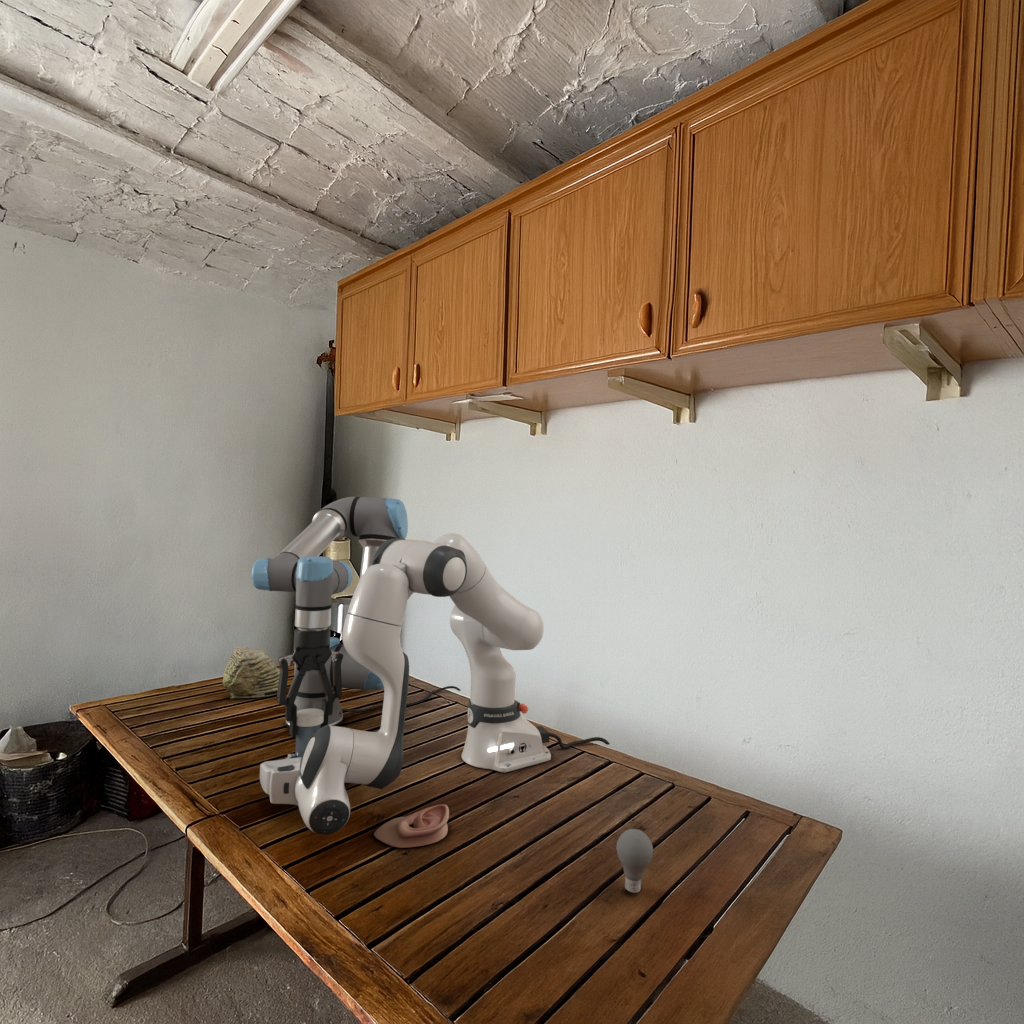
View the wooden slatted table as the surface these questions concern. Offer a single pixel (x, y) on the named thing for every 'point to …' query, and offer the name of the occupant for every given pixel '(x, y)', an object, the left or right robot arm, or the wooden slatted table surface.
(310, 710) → the lid
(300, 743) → the jar
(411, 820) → the anatomical model
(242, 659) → the fossil
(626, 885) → the light bulb
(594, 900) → the wooden slatted table surface
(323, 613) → the left robot arm
